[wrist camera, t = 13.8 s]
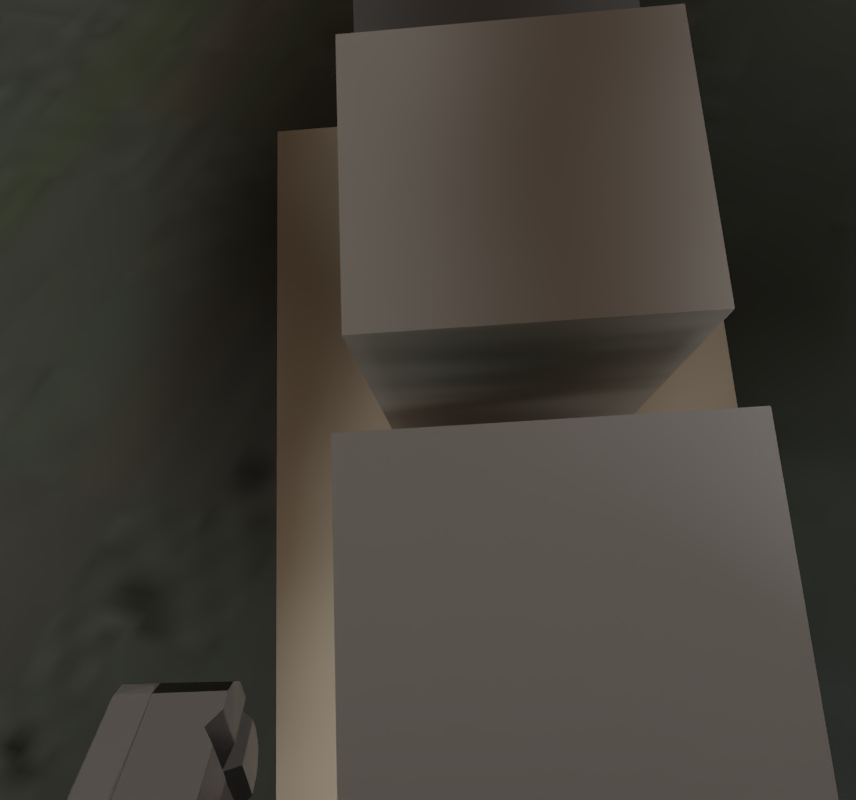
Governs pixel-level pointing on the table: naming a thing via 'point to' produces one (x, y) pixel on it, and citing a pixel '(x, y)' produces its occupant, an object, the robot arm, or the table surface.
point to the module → (572, 613)
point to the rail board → (481, 265)
